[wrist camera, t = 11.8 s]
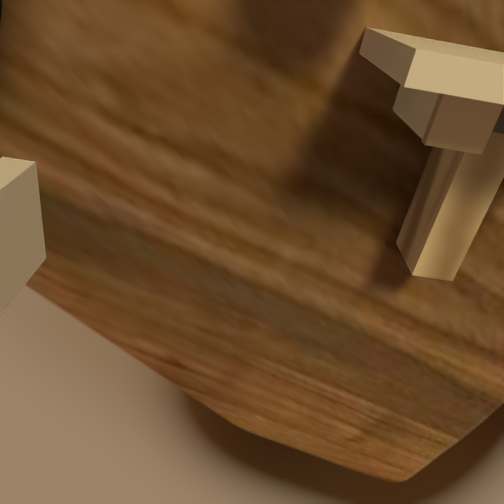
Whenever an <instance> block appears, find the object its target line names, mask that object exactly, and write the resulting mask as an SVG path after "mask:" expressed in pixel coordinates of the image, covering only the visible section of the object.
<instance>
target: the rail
mask: <svg viewBox="0 0 504 504" xmlns="http://www.w3.org/2000/svg"><path fill="white" fill-rule="evenodd" d="M503 178H504V106H503V108H502V110H501V113H500V115H499V117H498V119H497V121H496V124H495V126H494V128H493V130H492V133H491V135H490V137H489V139H488V141H487V144H486V146H485V148H484V150H483V152H482V155H481V154H475V153H469V152H463V151H457V150H451V149H445V148H439V147H434V146H433V148H432V150H431V153H430V156H429V158H428V161H427V163H426V166H425V168H424V171H423V174H422V176H421V179H420V181H419V184H418V187H417V189H416V192H415V194H414V197H413V199H412V202H411V205H410V207H409V210H408V212H407V215H406V218H405V220H404V223H403V225H402V228H401V231H400V233H399V236H398V238H397V241H396V244H397V246H398V248H399V250H400V252H401V254H402V256H403V258H404V260H405V262H406V264H407V266H408V268H409V270H410V272H411V274H412V275H415V276H422V277H429V278H436V279H442V280H449V281H453V279H454V277H455V275H456V273H457V271H458V269H459V267H460V265H461V263H462V261H463V259H464V257H465V255H466V253H467V251H468V249H469V247H470V245H471V243H472V241H473V238H474V236H475V234H476V232H477V230H478V228H479V226H480V224H481V222H482V220H483V218H484V216H485V214H486V212H487V210H488V208H489V206H490V204H491V202H492V200H493V198H494V196H495V194H496V192H497V190H498V188H499V186H500V184H501V182H502V180H503Z"/></svg>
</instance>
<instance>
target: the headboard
mask: <svg viewBox="0 0 504 504" xmlns="http://www.w3.org/2000/svg"><path fill="white" fill-rule="evenodd" d="M359 54H360V55H362V56H363V57H364V58H366V59H367V60H368V61H370V62H371V63H372V64H374V65H375V66H377V67H378V68H379V69H381V70H382V71H383V72H385V73H386V74H387V75H389V76H390V77H391V78H393V79H394V80H395V81H397V82H398V83H399V84H400V87H399V90H398V93H397V96H396V99H395V102H394V106H393V109H392V110H393V111H394V112H395V113H396V114H397V115H398V116H399V117H400V118H401V119H402V120H403V121H404V122H405V123H406V124H407V125H408V126H409V127H410V128H411V129H412V130H413V131H414V132H415V133H416V134H417V135H418V136H419V137H420V138H421V139H422V141H421V142H422V143H423V144H424V145H428V146H434V147H439V148H445V149H451V150H457V151H463V152H469V153H475V154H481V155H482V152H483V150H484V148H485V146H486V144H487V141H488V139H489V137H490V135H491V133H492V130H493V128H494V126H495V124H496V121H497V119H498V117H499V115H500V113H501V110H502V108H503V106H504V53H503V52H497V51H492V50H487V49H481V48H476V47H470V46H465V45H460V44H454V43H449V42H443V41H438V40H432V39H427V38H422V37H416V36H411V35H405V34H400V33H395V32H389V31H384V30H378V29H373V28H368V27H366V28H365V32H364V36H363V40H362V43H361V47H360V51H359Z"/></svg>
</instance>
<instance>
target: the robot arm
mask: <svg viewBox="0 0 504 504" xmlns="http://www.w3.org/2000/svg"><path fill="white" fill-rule="evenodd" d="M0 16H1V0H0ZM45 259H46V253H45V243H44V234H43V225H42V215H41V206H40V197H39V187H38V178H37V169H36V162H33V161H27V160H21V159H14V158H8V157H2V158H0V316H1V314H2V313H3V312H4V311H5V309H6V308H7V307H8V305H9V304H10V303H11V301H13V299H14V298H15V297H16V295H17V294H18V293H19V292H20V290H21V289H22V288H23V287H24V285H25V284H26V283H27V282H28V280H29V279H30V278H31V276H32V275H33V274H34V273H35V271H36V270H37V269H38V268H39V266H40V265H41V264H42V262H43V261H44V260H45Z"/></svg>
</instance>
